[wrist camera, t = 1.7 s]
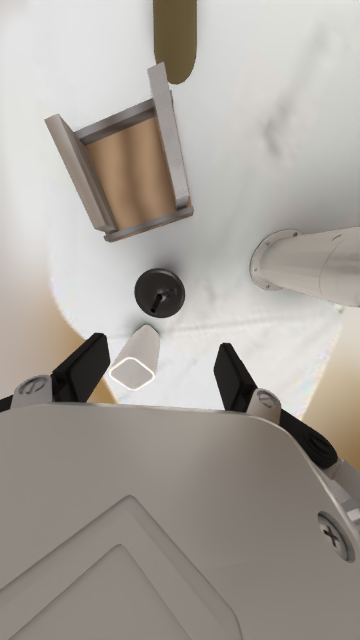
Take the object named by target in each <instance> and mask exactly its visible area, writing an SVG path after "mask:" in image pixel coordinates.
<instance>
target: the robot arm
mask: <svg viewBox="0 0 360 640" xmlns="http://www.w3.org/2000/svg"><path fill="white" fill-rule="evenodd" d="M266 242H267V243H266ZM250 273H251V277H252V279H253V281H254V283H255V284H256V285H257V286H259V287H260V288H263V289H265V290H271V291H272V290H279V289H282V288H286V289H290V290H293V291H296V292H300V293H303V294H306V295H310V296H313V297H317V298H320V299H323V300H327V301H330V302H334V303H337V304H341V305H345V306H350V307H360V226H357V227H351V228H345V229H339V230H333V231H327V232H320V233H314V234H308V235H304V234H303V233H301V232H299V231H297V230H290V229H287V230H282V231H279V232H276V233H274V234H272V235H270V236H269V237H267V238H266V239H265V240H264V241H263V242H262V243H261V244H260V245H259V246H258V248H257V249H256V251H255V253H254V254H253V257H252V260H251V265H250ZM109 365H110V356H109V350H108V343H107V337H106V335H104V334H103V333H94V334H93V335H92V336H91V337H90V338H89V339H88V340H86V341H85V342H84V343H83V344H82V345H81V346H80V347H79V348H78V349H77V350H76V351H74V352H73V353H72V354H71V355H70V356H69V357H68V358H67V359H66V360H65V361H64V362H63V363H61V364H60V365H59V366H58V367H57V368H56V369H55V370H54V371H53V374H51V375H50V376H49V375H39V376H35V377H32V378H30V379H28V380H26V381H24V382H23V383H22V384H20V385H19V386H18V387H17V388H16V389H15V391H14V395H11V396H9V397H6V398H4V399H1V400H0V640H360V473H359V472H358V471H357V470H356V469H355V468H354V467H353V466H351V465H350V464H349V463H348V462H347V461H346V460H343V461H342V460H341V459H339V458H338V456H337V453H336V451H335V449H334V448H333V446H332V445H331V444H330V443H329V442H328V440H326V439H325V438H324V437H323V436H322V435H321V434H319V433H318V432H317V431H315V430H314V429H312V428H311V427H309V426H307V425H306V424H304V423H303V422H301V421H300V420H298V419H297V418H295V417H294V416H292V415H291V414H289V413H288V412H286V411H285V410H283V409H282V408H281V403H280V401H279V400H278V398H277V397H276V396H275V395H274V394H273V393H271V392H270V391H268V390H266V389H262V388H258V387H257V386H256V384H255V382H254V381H253V379H252V377H251V376H250V374H249V372H248V371H247V369H246V367H245V366H244V364H243V362H242V361H241V360H240V358H239V357H238V355H237V353H236V352H235V350H234V348H233V347H232V345H231V343H223V344H221V345H220V347H219V351H218V355H217V358H216V362H215V366H214V375H215V378H216V381H217V385H218V388H219V391H220V395H221V398H222V401H223V405H224V408H225V410H212V409H196V408H180V407H162V406H144V405H125V404H102V403H86V401H87V400H88V398H89V397H90V395H91V394H92V392H93V390H94V389H95V387H96V386H97V384H98V382H99V381H100V379H101V378H102V376H103V375H104V373H105V372H106V370H107V368H108V367H109Z"/></svg>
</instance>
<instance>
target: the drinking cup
mask: <svg viewBox="0 0 360 640" xmlns="http://www.w3.org/2000/svg"><path fill="white" fill-rule="evenodd" d="M134 293H135V299H136V302H137V304H138V305H139V307H140V308H141V309H142V310H143V311H144V312H145V313H146V314H148V315H150V316H152V317H156V318H167V317H170V316H172V315H174V314H176V313H177V312H178V311H179V310H180V309H181V307H182V306H183V303H184V300H185V289H184V286H183V283H182V281H181V280H180V279H179V277H178V276H177V275H176V274H174V273H173V272H171V271H169V270H167V269H163V268H155V269H151V270H148V271H146V272H145V273H143V274H142V275H141V276H140V277H139V279H138V280H137V282H136V285H135V291H134Z"/></svg>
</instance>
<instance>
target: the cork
mask: <svg viewBox="0 0 360 640" xmlns="http://www.w3.org/2000/svg"><path fill="white" fill-rule="evenodd" d="M153 17H154V54H155V59H156V64H159V63H162V62H164V65H165V70H166V75H167V81H168V82H170V83H171V84H179V83H182V82H184V81H185V80H186V79H187V78H188V77H189V75H190V73H191V71H192V69H193V67H194V63H195V59H196V48H197V0H153Z"/></svg>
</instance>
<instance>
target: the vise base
mask: <svg viewBox="0 0 360 640" xmlns="http://www.w3.org/2000/svg"><path fill="white" fill-rule="evenodd" d="M170 96H171V102H172V107H173V97H172V91H171V90H170ZM173 112H174V111H173ZM174 118H175V116H174ZM45 123H46V125H47V127H48V129H49V131H50V133H51V136H52V138H53V140H54V142H55V144H56V146H57V149H58V151H59V153H60V155H61V157H62V159H63V162H64V164H65V166H66V168H67V170H68V172H69V175H70V177H71V179H72V181H73V183H74V185H75V188H76V190H77V192H78V194H79V196H80V198H81V201H82V203H83V205H84V207H85V209H86V211H87V214H88V216H89V218H90V220H91V222H92V224H93V227H94V229H97V230H100V231H103V232H105V234H106V236H104V239H105V241H109V242H114V241H117V240H120V239H123V238H126V237H129V236H132V235H135V234H138V233H141V232H144V231H147V230H150V229H153V228H156V227H159V226H162V225H165V224H168V223H171V222H174V221H177V220H180V219H183V218H186V217H189V216H192V215H193V212H194V210H193V206H191V201H190V196H189V198H188V203H187V208H185V209H182V210H179V211H176V207H175V202H174V198H173V194H172V189H171V185H170V180H169V176H168V172H167V167H166V163H165V159H164V154H163V150H162V146H161V141H160V137H159V133H158V128H157V124H156V120H155V114H154V108H153V102H152V98H151V99H149V100H147V101H144V102H142V103H140V104H138V105H135V106H133V107H131V108H128V109H126V110H124V111H122V112H119V113H117V114H115V115H112V116H110V117H108V118H105V119H103V120H101V121H99V122H96V123H94V124H92V125H89V126H87V127H85V128H83V129H80V130H78V131H76V132H73V131H72V130H71V128H70V127H69V126H68V125H67V124H66V123H65V121H64V120H63V119H62V118H61V117H60V115H59V114H56V115H54V116H51V117H49V118H47V119H45ZM175 123H176V121H175ZM176 128H177V127H176ZM177 133H178V132H177ZM178 139H179V137H178ZM179 144H180V143H179ZM180 149H181V148H180ZM181 155H182V153H181ZM182 160H183V158H182ZM183 165H184V164H183ZM184 170H185V169H184ZM185 176H186V174H185ZM186 181H187V180H186ZM187 186H188V185H187ZM188 192H189V190H188Z"/></svg>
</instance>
